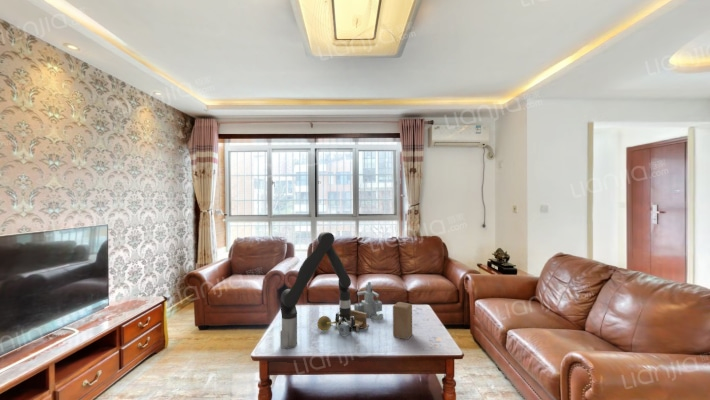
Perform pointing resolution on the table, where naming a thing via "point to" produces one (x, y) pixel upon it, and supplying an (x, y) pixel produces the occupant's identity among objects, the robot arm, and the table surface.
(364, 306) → the castle model
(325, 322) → the wall sconce
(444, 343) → the table surface
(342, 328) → the grey rectangular box
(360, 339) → the table surface
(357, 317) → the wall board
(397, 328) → the block
